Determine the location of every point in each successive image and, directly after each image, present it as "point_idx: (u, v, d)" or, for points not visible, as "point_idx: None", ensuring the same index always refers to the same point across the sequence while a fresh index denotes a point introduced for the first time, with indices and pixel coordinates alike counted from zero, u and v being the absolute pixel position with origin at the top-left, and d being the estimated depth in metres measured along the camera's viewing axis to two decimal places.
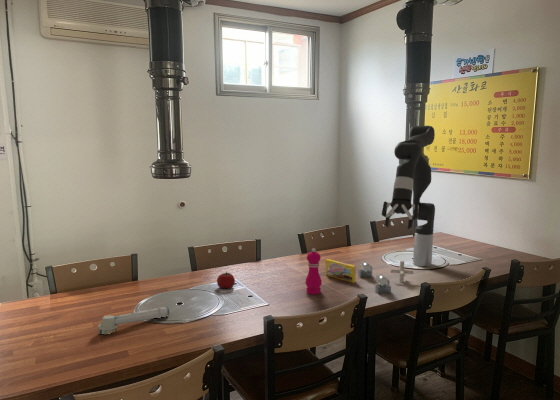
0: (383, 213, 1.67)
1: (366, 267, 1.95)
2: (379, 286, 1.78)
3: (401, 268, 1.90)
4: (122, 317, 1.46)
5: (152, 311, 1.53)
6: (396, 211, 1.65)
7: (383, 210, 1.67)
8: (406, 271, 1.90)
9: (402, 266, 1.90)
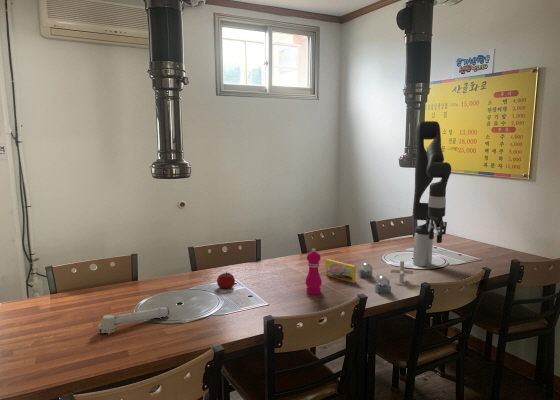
0: (426, 227, 1.94)
1: (366, 267, 1.95)
2: (379, 286, 1.78)
3: (401, 268, 1.90)
4: (122, 317, 1.47)
5: (152, 311, 1.53)
6: (432, 225, 1.89)
7: (426, 224, 1.94)
8: (406, 271, 1.90)
9: (402, 266, 1.90)
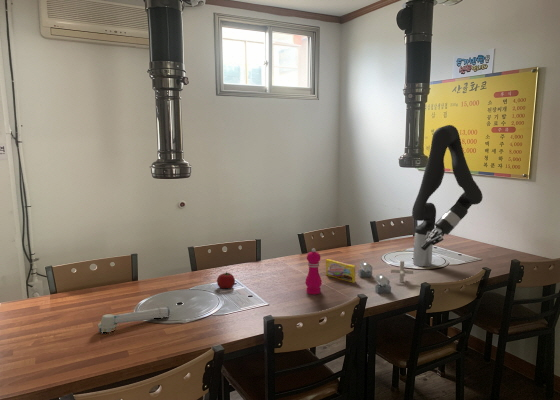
0: None
1: (366, 267, 1.95)
2: (379, 286, 1.78)
3: (401, 268, 1.90)
4: (122, 316, 1.47)
5: (152, 311, 1.53)
6: None
7: None
8: (406, 271, 1.90)
9: (402, 266, 1.90)
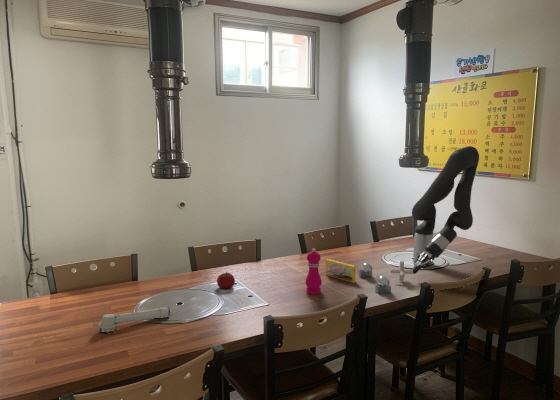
0: None
1: (366, 267, 1.95)
2: (379, 286, 1.78)
3: (401, 268, 1.90)
4: (122, 316, 1.47)
5: (153, 311, 1.53)
6: None
7: None
8: (406, 271, 1.90)
9: (402, 266, 1.89)
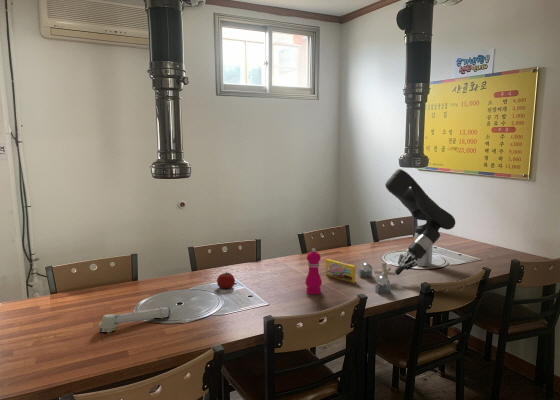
0: None
1: (366, 267, 1.95)
2: (379, 286, 1.78)
3: (383, 269, 1.89)
4: (122, 316, 1.47)
5: (153, 311, 1.53)
6: None
7: None
8: (388, 272, 1.88)
9: (383, 267, 1.88)
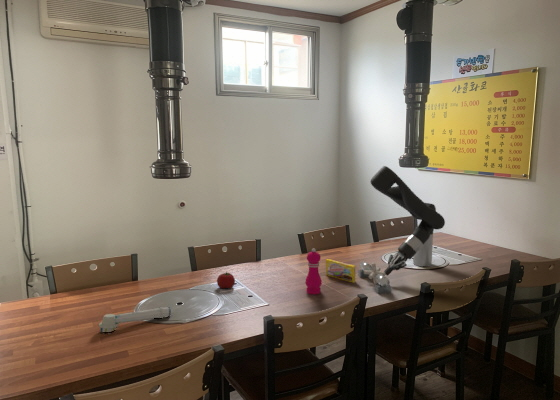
0: None
1: (366, 267, 1.95)
2: (379, 286, 1.78)
3: (372, 270, 1.88)
4: (123, 316, 1.47)
5: (153, 311, 1.53)
6: None
7: None
8: (377, 273, 1.87)
9: (373, 268, 1.88)
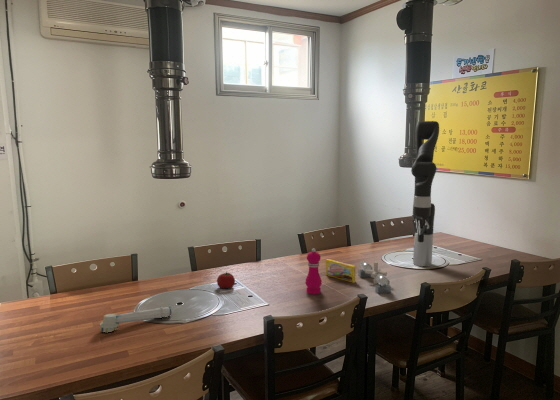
0: (415, 229, 1.91)
1: (366, 267, 1.95)
2: (379, 286, 1.78)
3: (374, 269, 1.89)
4: (124, 316, 1.47)
5: (154, 311, 1.53)
6: None
7: (414, 227, 1.92)
8: (379, 272, 1.88)
9: (375, 267, 1.89)
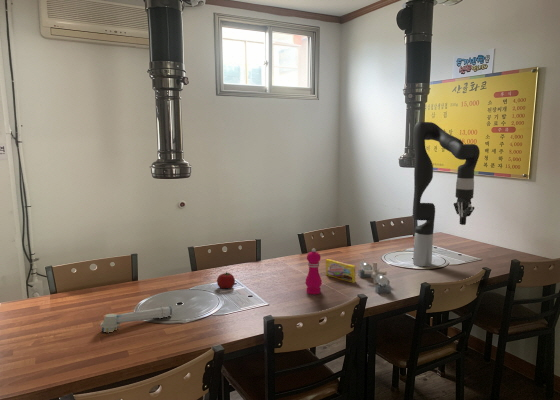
0: (457, 212, 1.91)
1: (366, 267, 1.95)
2: (379, 286, 1.78)
3: (374, 269, 1.89)
4: (124, 316, 1.48)
5: (155, 311, 1.53)
6: None
7: (456, 210, 1.92)
8: (379, 272, 1.88)
9: (375, 267, 1.88)
